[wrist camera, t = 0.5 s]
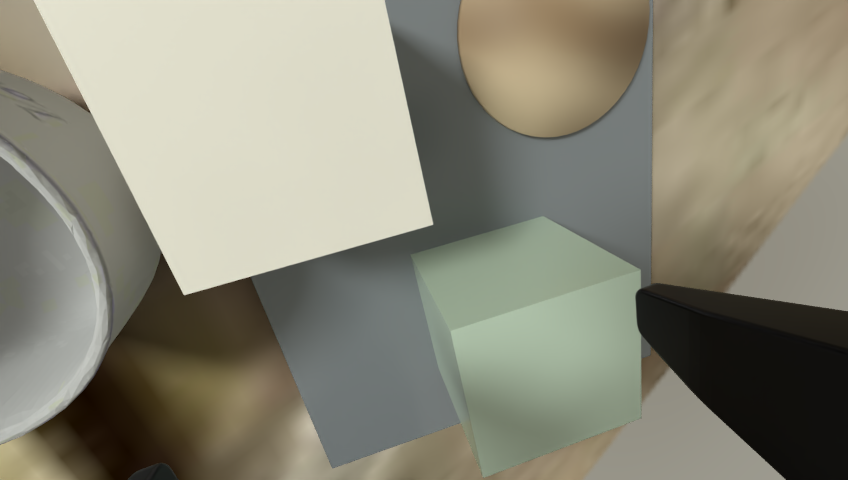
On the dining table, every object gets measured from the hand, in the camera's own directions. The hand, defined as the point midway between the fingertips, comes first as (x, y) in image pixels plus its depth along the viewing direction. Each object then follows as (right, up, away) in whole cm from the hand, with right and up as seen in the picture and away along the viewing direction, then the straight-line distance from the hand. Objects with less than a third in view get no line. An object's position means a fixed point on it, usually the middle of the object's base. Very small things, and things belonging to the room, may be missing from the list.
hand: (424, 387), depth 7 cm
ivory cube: (-5, +8, +9) cm, 13 cm away
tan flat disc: (+6, +12, +10) cm, 17 cm away
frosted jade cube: (+4, 0, +14) cm, 15 cm away
